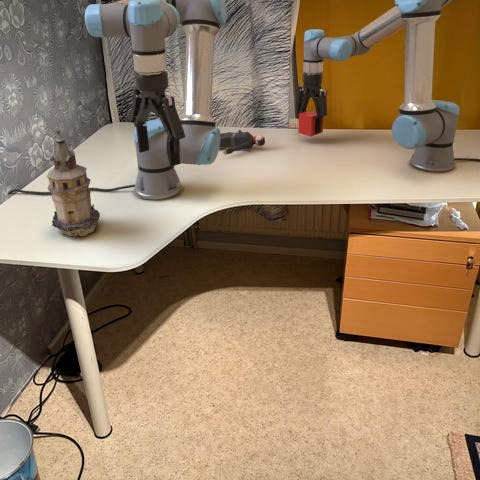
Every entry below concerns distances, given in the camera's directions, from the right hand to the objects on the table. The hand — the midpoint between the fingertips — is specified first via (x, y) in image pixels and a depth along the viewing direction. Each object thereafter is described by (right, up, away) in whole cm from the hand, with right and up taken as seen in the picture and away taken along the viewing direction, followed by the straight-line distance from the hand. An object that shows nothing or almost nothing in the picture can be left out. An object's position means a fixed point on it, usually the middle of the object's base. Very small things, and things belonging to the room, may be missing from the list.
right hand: (310, 130), depth 217 cm
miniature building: (-76, -41, -61) cm, 106 cm away
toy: (-34, -7, -3) cm, 34 cm away
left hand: (-49, -24, -82) cm, 98 cm away
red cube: (0, -1, 0) cm, 1 cm away
